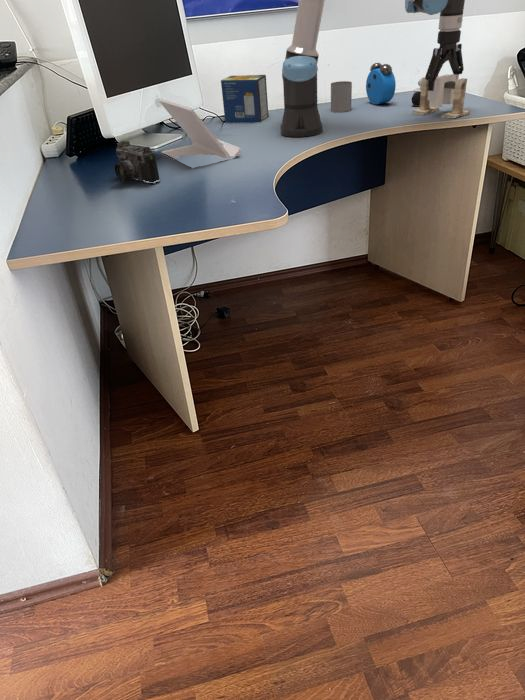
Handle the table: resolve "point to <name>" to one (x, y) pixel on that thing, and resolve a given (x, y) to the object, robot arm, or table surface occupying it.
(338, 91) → the cup
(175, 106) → the tablet stand
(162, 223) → the table surface
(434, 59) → the robot arm
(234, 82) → the protein box
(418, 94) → the microphone
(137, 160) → the camera
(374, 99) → the alarm clock
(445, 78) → the notched white block
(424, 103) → the hook stand
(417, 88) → the wall hook
